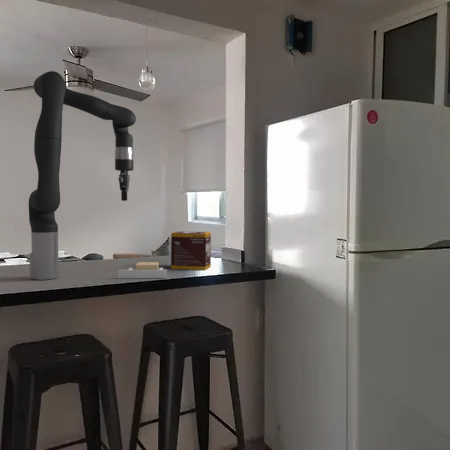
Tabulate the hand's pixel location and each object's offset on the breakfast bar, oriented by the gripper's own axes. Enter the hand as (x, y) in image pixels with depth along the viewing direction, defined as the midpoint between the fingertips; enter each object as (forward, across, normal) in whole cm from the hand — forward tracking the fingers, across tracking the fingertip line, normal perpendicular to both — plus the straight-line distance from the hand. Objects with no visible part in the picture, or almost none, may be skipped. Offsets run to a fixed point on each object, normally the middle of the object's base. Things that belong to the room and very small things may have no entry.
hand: (124, 200), depth 186 cm
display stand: (+29, +15, +10) cm, 34 cm away
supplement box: (+29, -4, +28) cm, 41 cm away
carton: (+29, +16, +11) cm, 35 cm away
